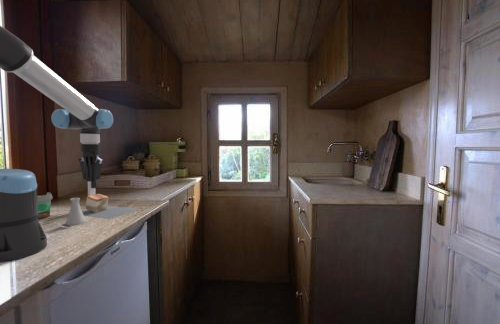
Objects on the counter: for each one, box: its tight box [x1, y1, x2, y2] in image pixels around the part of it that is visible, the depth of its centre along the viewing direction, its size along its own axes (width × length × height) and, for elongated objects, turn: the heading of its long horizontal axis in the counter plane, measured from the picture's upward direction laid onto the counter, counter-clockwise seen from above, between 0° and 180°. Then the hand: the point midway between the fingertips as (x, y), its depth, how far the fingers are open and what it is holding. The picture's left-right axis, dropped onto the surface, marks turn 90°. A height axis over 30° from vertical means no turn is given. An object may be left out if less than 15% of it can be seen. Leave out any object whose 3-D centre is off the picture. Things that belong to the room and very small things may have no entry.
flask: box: [65, 197, 87, 227], centre depth 98 cm, size 7×7×10 cm
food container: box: [37, 191, 54, 221], centre depth 103 cm, size 12×6×10 cm, turn 168°
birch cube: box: [85, 193, 110, 213], centre depth 116 cm, size 6×6×6 cm
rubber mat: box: [82, 205, 139, 220], centre depth 114 cm, size 16×22×1 cm
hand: (91, 195), depth 117 cm, fingers closed
